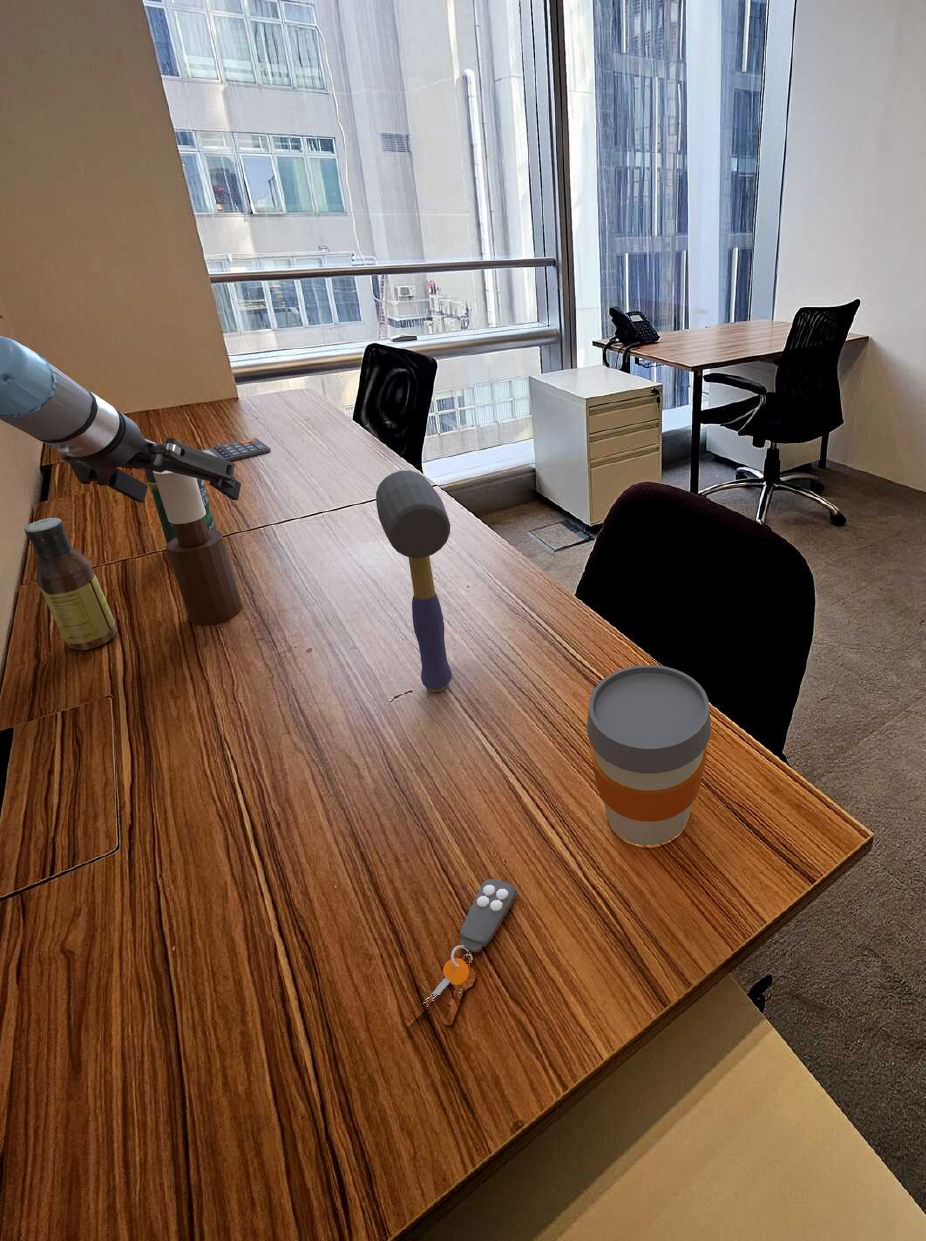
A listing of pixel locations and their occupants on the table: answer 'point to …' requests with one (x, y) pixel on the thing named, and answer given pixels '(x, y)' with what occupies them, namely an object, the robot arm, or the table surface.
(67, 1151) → the table surface
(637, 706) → the reusable coffee cup
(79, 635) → the sauce bottle
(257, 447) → the calculator
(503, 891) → the key chain
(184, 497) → the bung
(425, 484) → the rubber mallet
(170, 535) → the coffee jar
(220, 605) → the bottle
